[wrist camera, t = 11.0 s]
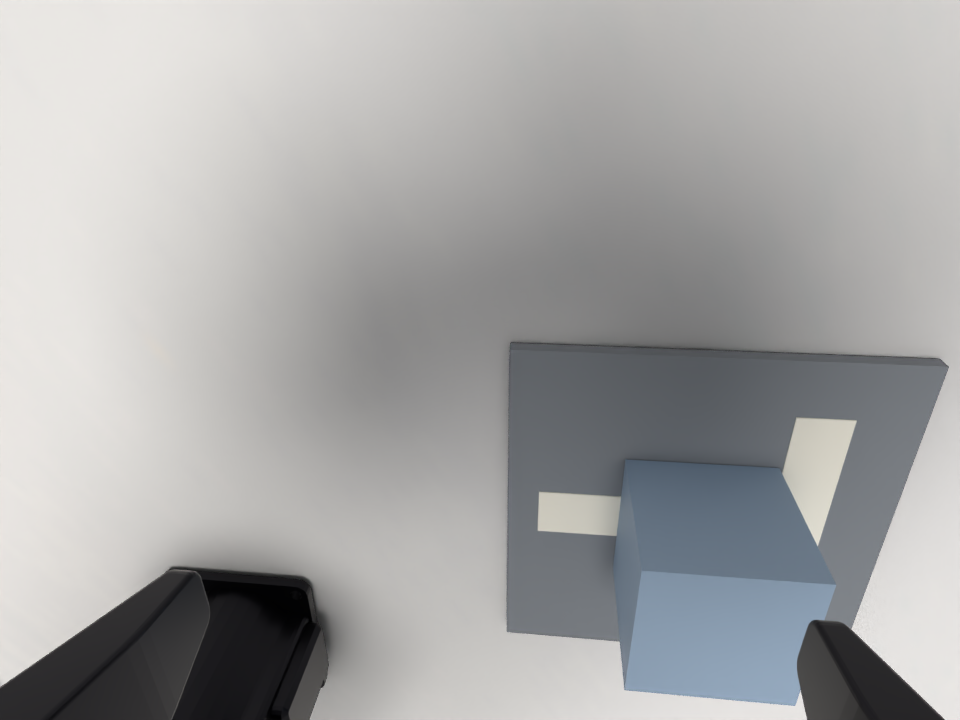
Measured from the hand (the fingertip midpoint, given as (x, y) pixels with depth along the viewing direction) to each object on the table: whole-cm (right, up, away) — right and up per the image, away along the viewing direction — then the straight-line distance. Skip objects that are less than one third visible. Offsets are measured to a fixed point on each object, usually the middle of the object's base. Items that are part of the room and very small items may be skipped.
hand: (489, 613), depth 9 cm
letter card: (+7, -2, +14) cm, 16 cm away
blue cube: (+7, -2, +13) cm, 15 cm away
